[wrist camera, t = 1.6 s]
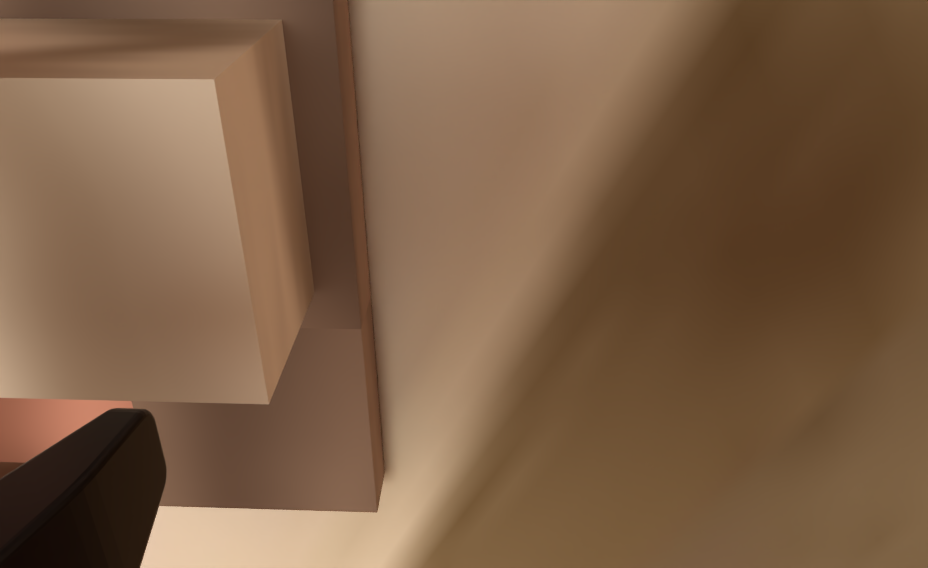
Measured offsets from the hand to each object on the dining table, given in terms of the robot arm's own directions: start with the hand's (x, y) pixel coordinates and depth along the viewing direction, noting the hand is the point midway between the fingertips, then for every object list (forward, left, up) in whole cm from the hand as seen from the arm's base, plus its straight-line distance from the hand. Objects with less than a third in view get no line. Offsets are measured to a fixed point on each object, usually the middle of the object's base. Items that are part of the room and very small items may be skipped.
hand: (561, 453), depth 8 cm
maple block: (+8, 0, -9) cm, 12 cm away
